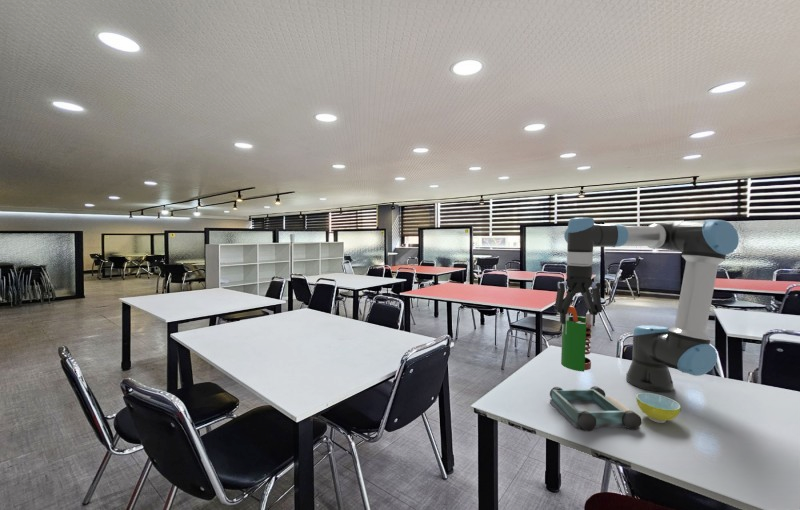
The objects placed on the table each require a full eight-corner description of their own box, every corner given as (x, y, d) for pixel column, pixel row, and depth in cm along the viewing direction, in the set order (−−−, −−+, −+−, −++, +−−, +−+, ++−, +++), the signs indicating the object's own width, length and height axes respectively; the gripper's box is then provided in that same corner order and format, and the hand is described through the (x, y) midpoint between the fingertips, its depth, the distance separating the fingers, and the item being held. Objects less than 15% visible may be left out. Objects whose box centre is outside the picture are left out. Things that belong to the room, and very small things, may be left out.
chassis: (602, 399, 124) (603, 386, 124) (642, 429, 105) (643, 413, 105) (548, 400, 123) (548, 386, 123) (578, 430, 104) (578, 414, 104)
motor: (595, 372, 110) (596, 310, 109) (564, 370, 112) (566, 309, 111) (585, 361, 120) (587, 304, 119) (558, 359, 122) (559, 303, 121)
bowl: (689, 427, 106) (690, 408, 106) (657, 430, 104) (658, 410, 104) (656, 409, 117) (657, 391, 117) (626, 411, 115) (627, 393, 115)
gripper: (602, 263, 118) (600, 330, 120) (544, 263, 118) (542, 330, 119) (616, 265, 111) (614, 336, 112) (554, 265, 110) (552, 336, 112)
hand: (577, 333), depth 116 cm, fingers closed on motor, 7 cm apart
